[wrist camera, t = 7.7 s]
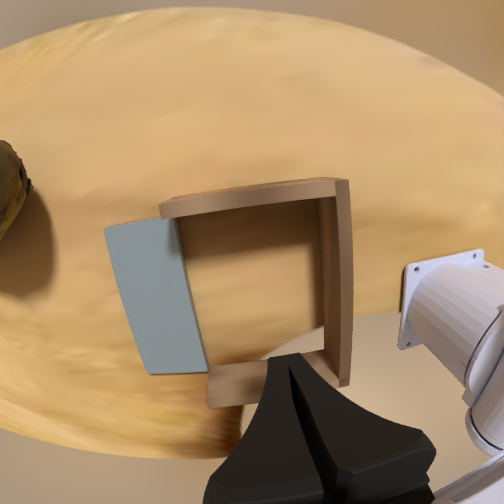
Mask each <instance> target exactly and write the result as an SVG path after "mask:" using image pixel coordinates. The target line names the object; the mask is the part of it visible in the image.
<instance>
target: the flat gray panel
mask: <svg viewBox="0 0 504 504" xmlns="http://www.w3.org/2000/svg"><path fill="white" fill-rule="evenodd" d="M104 233H105V237H106V241H107V246H108V250H109V254H110V258H111V262H112V266H113V270H114V274H115V277H116V281H117V285H118V288H119V292H120V295H121V298H122V302H123V305H124V308H125V311H126V315H127V318H128V321H129V324H130V327H131V330H132V333H133V335H134V338H135V341H136V344H137V347H138V349H139V352H140V355H141V357H142V360H143V363H144V365H145V368H146V370H147V373H148V374H165V373H189V372H205V371H208V368H209V363H208V360H207V356H206V352H205V348H204V344H203V340H202V336H201V332H200V328H199V324H198V320H197V315H196V311H195V307H194V303H193V298H192V294H191V289H190V284H189V280H188V275H187V270H186V265H185V261H184V256H183V250H182V245H181V240H180V235H179V229H178V224H177V218H176V217H175V218H170V219H164V220H161V217H158V218H152V219H147V220H141V221H135V222H130V223H125V224H119V225H114V226H109V227H107V228H105V229H104Z"/></svg>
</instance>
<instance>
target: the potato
mask: <svg viewBox="0 0 504 504" xmlns="http://www.w3.org/2000/svg"><path fill="white" fill-rule="evenodd" d="M32 189H33V185H31V180H30V178H27V174H26V170H25V168H24V165H23V163H22V159H20V158H19V157H18V156H17V154H16V152H15V151H14V150H13V149H12V147H11V145H10V144H9V143H7V142H6V141H4V140H3V141H2V140H0V240H1V239H2V237H3V236H4V234H5V233H6V231H7V230H8V228H9V227H10V226H11V224H12V223H13V221H14V220H15V218H16V216H17V215H18V213H19V211H20V209H21V207H22V205H23V202H24V200H25V201H26V200H27V198H28V199H29V197H30V194H31V192H32Z"/></svg>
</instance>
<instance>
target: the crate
mask: <svg viewBox="0 0 504 504" xmlns="http://www.w3.org/2000/svg"><path fill="white" fill-rule="evenodd" d="M311 198H317V209H318V221H319V233H320V248H321V264H322V283H323V309H324V349H323V350H318V351H313V352H307V353H302V355H303V357H304V358H305V359H306V360H307V362H308V363H309V364H310V365H311V366H312V367H313V368H314V370H315V371H316V372H317V373H318V374H319V375H320V376H321V377H323V378H324V379H325V380H326V381H327V382H328V383H329V384H330V385H331V386H332V387H334V388H335V389H336V388H340V387H344V386H348V385H349V381H350V368H351V351H352V331H353V244H352V222H351V206H350V192H349V181H348V180H347V179H338V178H329V177H322V178H311V179H302V180H292V181H283V182H275V183H266V184H258V185H251V186H243V187H236V188H229V189H222V190H216V191H209V192H203V193H197V194H191V195H185V196H179V197H174V198H171V199H169V200H167V201H165V202H163V203H161V204H159V210H160V215H161V220H164V219H170V218H175V217H182V216H188V215H194V214H200V213H207V212H213V211H220V210H227V209H233V208H240V207H248V206H255V205H262V204H270V203H278V202H286V201H294V200H303V199H311ZM267 360H268V359H266V360H259V361H252V362H245V363H237V364H228V365H220V366H210V371H209V382H208V393H207V402H208V405H209V408H216V407H228V406H237V405H246V404H254V403H259V401H260V398H261V395H262V392H263V388H264V384H265V380H266V375H267Z"/></svg>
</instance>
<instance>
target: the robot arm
mask: <svg viewBox="0 0 504 504" xmlns="http://www.w3.org/2000/svg"><path fill="white" fill-rule="evenodd" d="M473 255H474V256H473ZM483 259H484V251H483V250H482V249H475V250H471V251H467V252H462V253H458V254H453V255H449V256H444V257H439V258H435V259H430V260H425V261H420V262H415V263H410V264H408V265H407V266H406V268H405V272H404V289H403V301H402V312H401V321H400V331H399V338H398V348H399V349H400V350H404V349H407V348H410V347H413V346H416V345H419V344H422V343H424V345H425V346H426V347H428V349H429V350H430V351H431V352H432V353H433V354H434V355H435V356H436V357H437V358H438V359H439V360H440V361H441V362H442V363H443V364H444V365H445V367H447V369H448V370H449V371H450V372H451V373H452V374H453V375H454V376H455V377H456V378H457V379H458V381H459V382H460V383H461V384H462V385H463V386H464V387H465V388H466V389H465V392H464V394H463V396H462V399H463V400H464V401H465V403H466V404H467V405H468V406H469V409H468V411H467V413H466V417H465V424H466V428H467V431H468V434H469V435H470V437H471V439H472V441H473V443H474V444H475V445H476V446H477V447H478V448H479V449H480V450H481V451H482V452H484V453H486V454H487V455H489V456H491V457H492V458H491V459H489V460H488V461H486V462H485V463H484V464H482V465H481V466H479V467H477V468H476V469H474V470H473V471H472V472H470V473H468V474H466V475H465V476H463V477H461V478H460V479H458V480H456V481H454V482H453V483H451V484H449V485H447V486H445V487H444V488H442V489H440V490H438V491H436V492H434V493H432V491H431V489H430V487H429V486H428V484H427V483H429V481H430V480H429V477H428V475H427V474H426V472H427V471H428V469H429V467H430V465H431V464H432V462H433V461H434V458H435V456H436V449H435V447H434V446H433V444H432V442H431V441H430V440H429V438H428V437H427V436H426V435H425V434H424V433H423V431H422V430H420V429H416V428H412V427H409V426H405V425H401V424H398V423H395V422H392V421H389V420H387V419H384V418H382V417H380V416H378V415H376V414H374V413H372V412H369V411H367V410H366V409H364V408H362V407H360V406H359V405H357V404H355V403H354V402H352V401H351V400H349V399H348V398H346V397H345V396H344V395H342V394H341V393H340V392H338V391H337V390H336V389H335V388H334V387H332V386H331V385H330V384H329V383H328V382H327V381H326V380H325V379H324V378H323V377H321V376H320V375H319V374H318V373H317V372H316V371H315V370H314V368H313V367H312V366H311V365H310V364H309V363H308V362H307V360H306V359H305V358H304V357H303V355H302V354H300V353H294V354H288V355H282V356H276V357H270V358H269V359H268V360H267V375H266V380H265V384H264V388H263V392H262V395H261V398H260V401H259V404H258V407H257V409H256V412H255V414H254V416H253V418H252V420H251V422H250V424H249V426H248V428H247V430H246V431H245V433H244V435H243V436H242V438H241V440H240V441H239V443H238V444H237V445H236V447H235V448H234V450H233V451H232V452H231V454H230V455H229V456H228V458H227V459H226V460H225V461H224V462H223V463H222V465H220V467H219V468H218V469H217V470H216V471H215V472H214V473H213V474H212V475H211V476H210V478H209V481H208V484H207V487H206V490H205V493H204V497H203V504H504V270H503V269H501V268H499V267H496V266H494V265H492V264H490V263H488V262H486V261H484V260H483ZM416 267H417V269H416V271H414V270H415V268H416Z"/></svg>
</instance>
